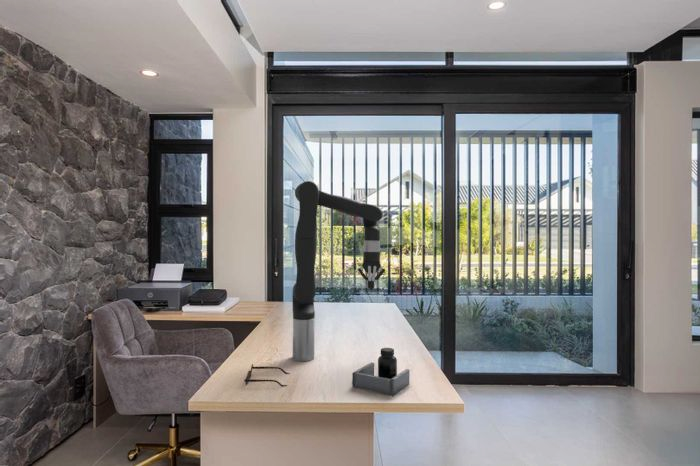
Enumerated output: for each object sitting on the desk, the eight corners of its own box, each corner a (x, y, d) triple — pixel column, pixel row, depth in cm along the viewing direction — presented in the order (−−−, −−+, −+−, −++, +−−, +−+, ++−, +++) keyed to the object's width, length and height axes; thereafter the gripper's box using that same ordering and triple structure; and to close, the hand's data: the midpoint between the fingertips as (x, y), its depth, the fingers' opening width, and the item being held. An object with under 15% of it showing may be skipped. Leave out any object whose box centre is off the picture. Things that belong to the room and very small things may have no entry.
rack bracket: (371, 375, 159) (371, 362, 159) (409, 383, 152) (409, 369, 152) (352, 387, 147) (352, 372, 147) (392, 396, 140) (392, 380, 140)
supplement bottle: (395, 379, 156) (395, 346, 156) (398, 385, 149) (398, 351, 149) (376, 379, 155) (376, 346, 155) (379, 386, 149) (379, 351, 149)
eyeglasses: (251, 374, 161) (251, 361, 161) (290, 374, 162) (290, 361, 162) (244, 388, 146) (244, 374, 146) (287, 388, 147) (287, 373, 148)
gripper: (358, 250, 186) (357, 290, 186) (388, 251, 188) (387, 290, 188) (355, 250, 194) (354, 288, 193) (384, 250, 196) (383, 288, 195)
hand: (370, 289), depth 191 cm, fingers closed
